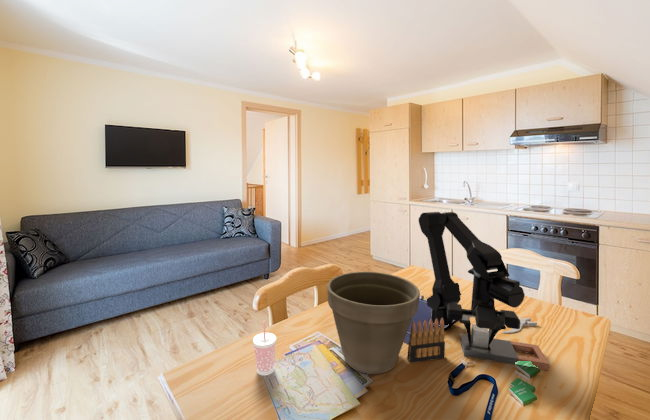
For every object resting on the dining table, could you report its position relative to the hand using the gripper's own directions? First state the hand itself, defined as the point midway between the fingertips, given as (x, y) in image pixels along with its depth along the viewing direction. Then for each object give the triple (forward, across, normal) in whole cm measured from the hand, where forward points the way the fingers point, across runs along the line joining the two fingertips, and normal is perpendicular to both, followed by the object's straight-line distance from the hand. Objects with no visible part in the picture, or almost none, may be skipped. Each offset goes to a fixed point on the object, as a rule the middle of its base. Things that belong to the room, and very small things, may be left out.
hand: (479, 342), depth 92 cm
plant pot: (+3, -30, -14) cm, 33 cm away
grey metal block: (+3, 0, 0) cm, 3 cm away
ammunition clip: (+3, -15, -9) cm, 18 cm away
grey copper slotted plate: (+2, +6, 0) cm, 6 cm away
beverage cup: (+3, -56, -27) cm, 63 cm away
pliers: (+3, +14, +20) cm, 25 cm away
